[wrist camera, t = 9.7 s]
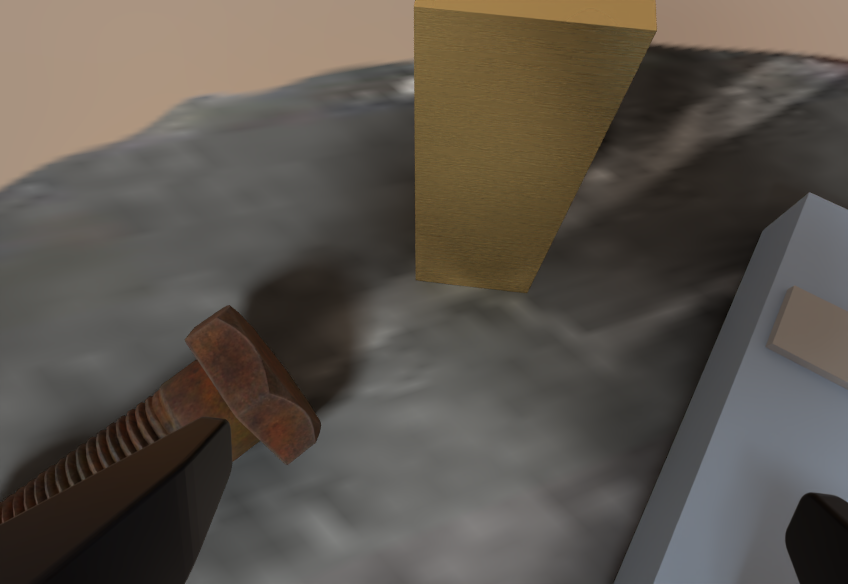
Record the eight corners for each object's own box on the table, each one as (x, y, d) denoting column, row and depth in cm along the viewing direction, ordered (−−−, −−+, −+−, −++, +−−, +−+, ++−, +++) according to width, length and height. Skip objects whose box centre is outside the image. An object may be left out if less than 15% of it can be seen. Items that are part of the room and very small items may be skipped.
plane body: (797, 803, 16) (1050, 995, 10) (581, 659, 18) (678, 744, 11) (932, 311, 22) (1146, 227, 16) (762, 230, 23) (895, 121, 17)
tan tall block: (526, 293, 22) (657, 30, 10) (415, 280, 22) (414, 6, 10) (531, 217, 24) (651, -96, 11) (426, 205, 24) (435, -115, 12)
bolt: (-69, 639, 19) (291, 372, 22) (-87, 800, 16) (345, 455, 19) (-262, 587, 15) (207, 272, 18) (-345, 786, 12) (255, 354, 15)
